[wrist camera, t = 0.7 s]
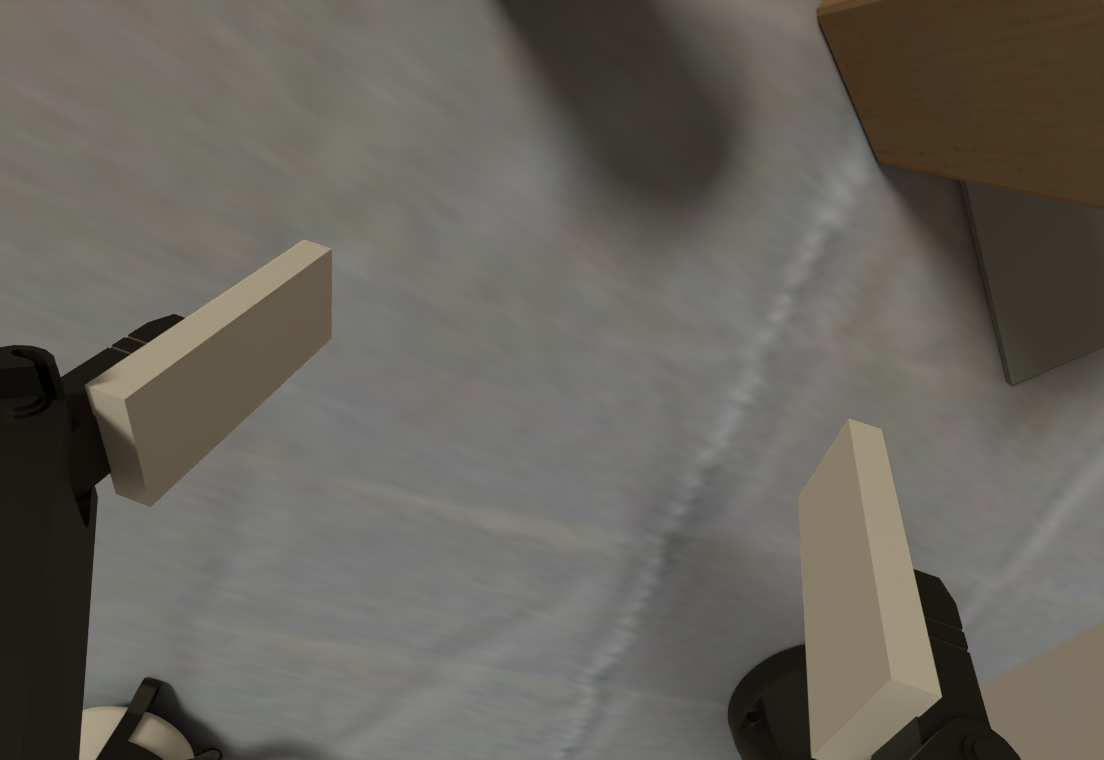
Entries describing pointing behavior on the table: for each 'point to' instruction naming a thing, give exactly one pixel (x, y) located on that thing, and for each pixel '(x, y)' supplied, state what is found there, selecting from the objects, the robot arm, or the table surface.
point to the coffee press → (135, 732)
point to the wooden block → (980, 89)
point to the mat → (1038, 276)
